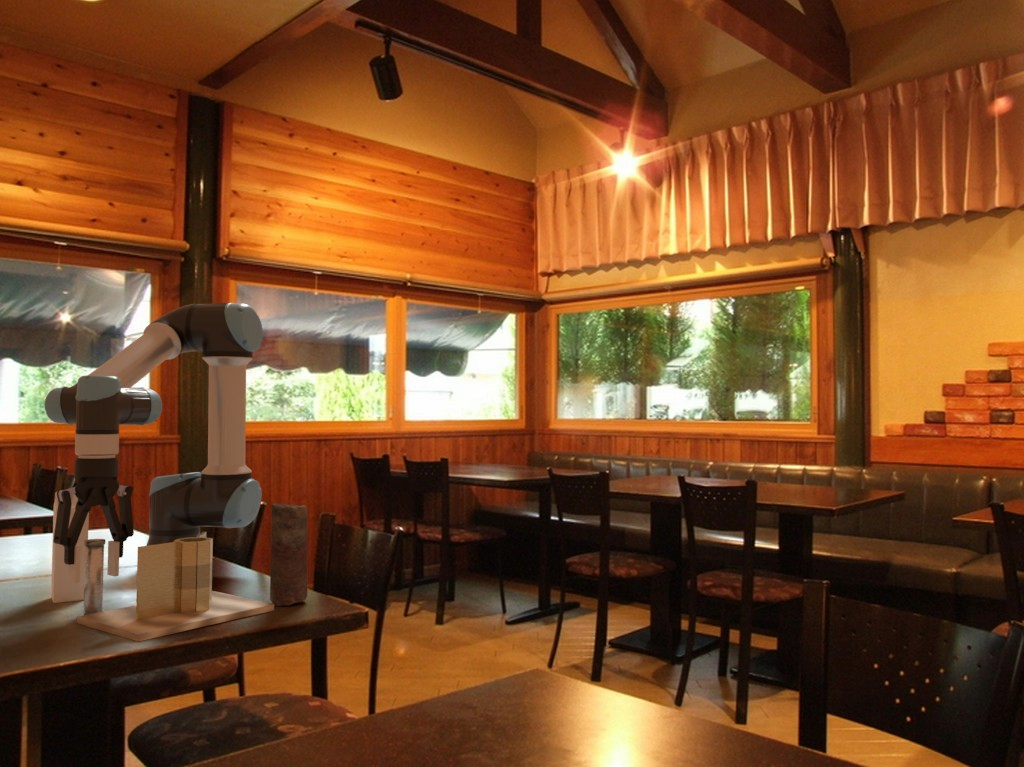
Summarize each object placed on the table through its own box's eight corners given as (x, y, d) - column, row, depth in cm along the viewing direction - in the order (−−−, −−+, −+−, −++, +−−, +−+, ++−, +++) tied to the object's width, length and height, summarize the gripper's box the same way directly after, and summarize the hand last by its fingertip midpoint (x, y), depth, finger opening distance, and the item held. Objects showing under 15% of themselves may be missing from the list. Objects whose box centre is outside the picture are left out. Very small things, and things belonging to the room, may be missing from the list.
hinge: (203, 595, 170) (205, 531, 170) (238, 603, 163) (239, 536, 164) (112, 613, 154) (114, 542, 155) (147, 623, 148) (149, 548, 148)
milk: (86, 600, 171) (90, 491, 171) (52, 603, 167) (56, 492, 168) (83, 594, 176) (86, 488, 176) (50, 597, 172) (53, 490, 173)
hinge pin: (97, 611, 161) (99, 538, 161) (107, 614, 159) (109, 540, 159) (78, 615, 158) (80, 540, 158) (88, 618, 156) (90, 542, 156)
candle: (268, 600, 172) (270, 502, 173) (304, 597, 175) (306, 501, 175) (271, 608, 165) (273, 506, 166) (309, 605, 168) (311, 504, 168)
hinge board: (211, 596, 175) (211, 590, 175) (274, 610, 163) (274, 604, 163) (77, 623, 152) (77, 616, 152) (138, 641, 140) (138, 634, 140)
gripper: (135, 454, 170) (132, 568, 169) (33, 457, 154) (29, 584, 153) (156, 455, 165) (153, 572, 165) (53, 459, 149) (49, 589, 148)
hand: (93, 578), depth 159 cm, fingers open, 7 cm apart
